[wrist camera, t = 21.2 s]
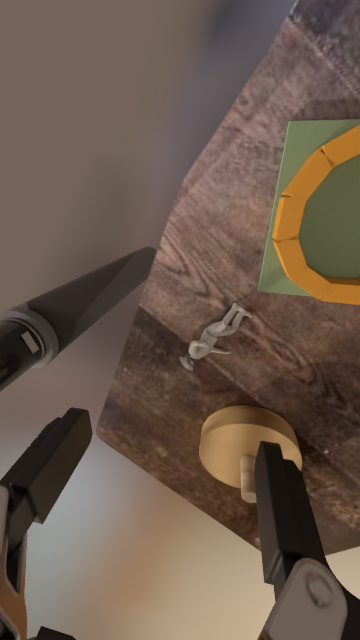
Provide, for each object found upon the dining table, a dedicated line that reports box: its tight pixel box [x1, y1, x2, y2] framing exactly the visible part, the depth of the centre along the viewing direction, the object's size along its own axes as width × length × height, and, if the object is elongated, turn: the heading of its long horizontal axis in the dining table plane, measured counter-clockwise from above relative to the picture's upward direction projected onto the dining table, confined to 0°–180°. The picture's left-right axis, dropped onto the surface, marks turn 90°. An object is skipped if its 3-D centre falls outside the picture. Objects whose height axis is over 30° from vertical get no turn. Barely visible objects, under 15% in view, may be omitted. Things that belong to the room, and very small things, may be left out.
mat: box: [258, 119, 360, 297], centre depth 27 cm, size 18×18×1 cm
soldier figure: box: [179, 303, 253, 371], centre depth 35 cm, size 8×5×12 cm
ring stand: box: [199, 405, 302, 503], centre depth 40 cm, size 17×17×10 cm
